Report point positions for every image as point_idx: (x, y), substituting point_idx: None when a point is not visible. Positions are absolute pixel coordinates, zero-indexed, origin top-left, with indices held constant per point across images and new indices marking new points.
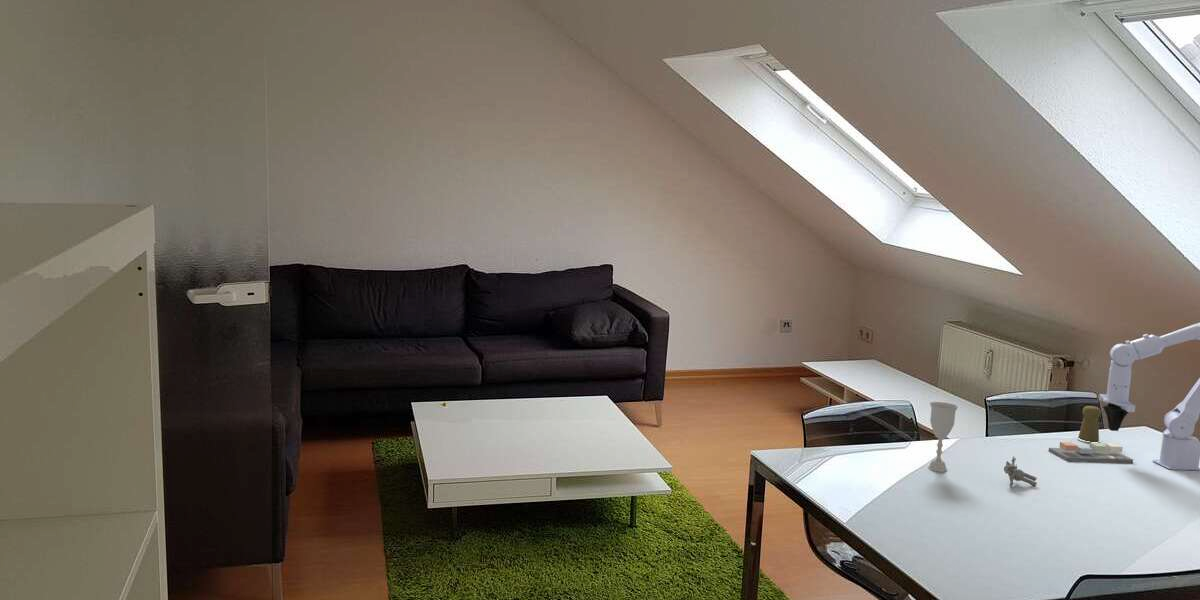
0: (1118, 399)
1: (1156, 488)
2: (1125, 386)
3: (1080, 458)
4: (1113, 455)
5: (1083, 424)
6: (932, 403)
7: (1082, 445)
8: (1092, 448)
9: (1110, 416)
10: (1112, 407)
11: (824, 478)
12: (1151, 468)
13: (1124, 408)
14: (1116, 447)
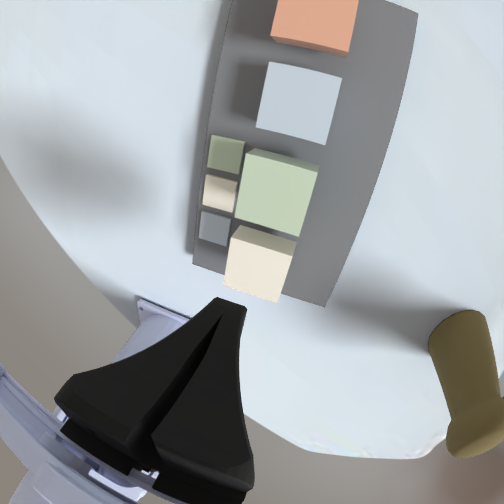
0: (22, 479)
1: (25, 130)
2: None
3: (225, 31)
4: None
5: (489, 365)
6: None
7: (325, 121)
8: (288, 158)
9: (165, 365)
10: (98, 434)
11: None
12: (146, 262)
13: (28, 405)
14: (228, 258)
